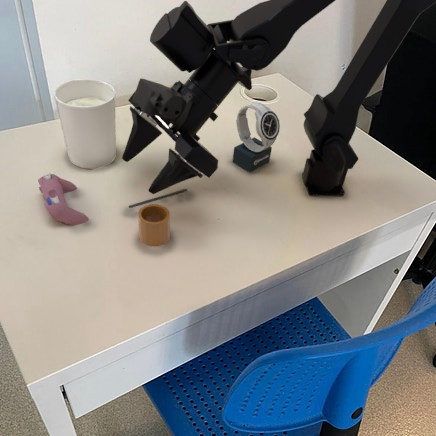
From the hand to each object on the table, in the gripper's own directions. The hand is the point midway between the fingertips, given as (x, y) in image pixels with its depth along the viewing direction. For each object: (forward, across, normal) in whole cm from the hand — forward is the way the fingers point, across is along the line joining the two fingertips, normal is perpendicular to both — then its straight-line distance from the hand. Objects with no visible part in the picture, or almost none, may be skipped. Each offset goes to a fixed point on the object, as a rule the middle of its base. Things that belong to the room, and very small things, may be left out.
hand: (136, 175), depth 75 cm
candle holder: (+5, -18, +4) cm, 19 cm away
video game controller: (+12, -4, -3) cm, 13 cm away
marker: (+7, 0, +5) cm, 8 cm away
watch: (-13, -4, +22) cm, 26 cm away
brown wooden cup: (+6, +8, +4) cm, 10 cm away
